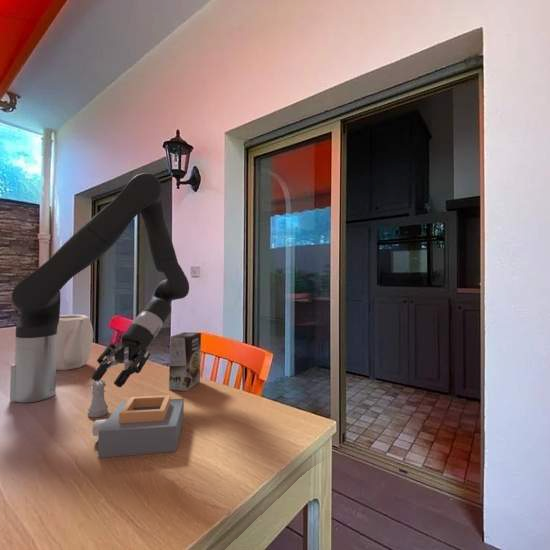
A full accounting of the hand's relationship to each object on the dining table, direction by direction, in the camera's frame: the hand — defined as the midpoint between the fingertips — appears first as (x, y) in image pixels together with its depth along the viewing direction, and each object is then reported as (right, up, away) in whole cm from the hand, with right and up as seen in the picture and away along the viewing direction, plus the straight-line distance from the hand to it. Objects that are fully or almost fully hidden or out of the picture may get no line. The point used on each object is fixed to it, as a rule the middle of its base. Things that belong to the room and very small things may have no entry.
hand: (105, 382), depth 79 cm
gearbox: (+14, -7, -12) cm, 20 cm away
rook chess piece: (-1, -7, -2) cm, 8 cm away
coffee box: (+15, -8, +19) cm, 25 cm away
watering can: (-33, -7, +36) cm, 50 cm away
